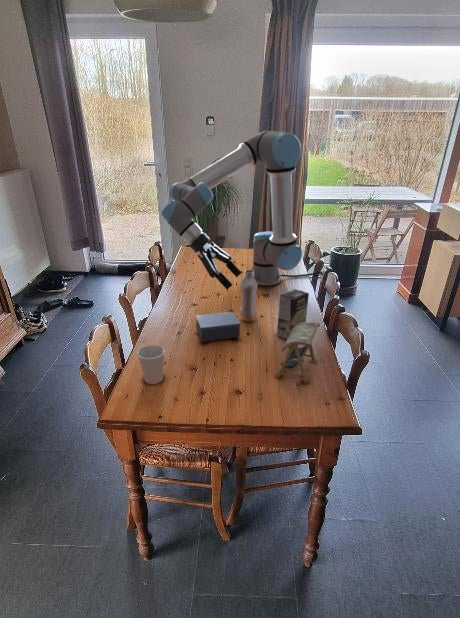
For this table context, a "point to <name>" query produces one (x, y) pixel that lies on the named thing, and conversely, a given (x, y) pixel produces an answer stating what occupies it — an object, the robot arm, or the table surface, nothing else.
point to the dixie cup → (151, 363)
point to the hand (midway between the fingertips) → (234, 281)
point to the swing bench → (297, 354)
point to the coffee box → (291, 311)
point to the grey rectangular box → (218, 326)
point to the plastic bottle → (248, 296)
